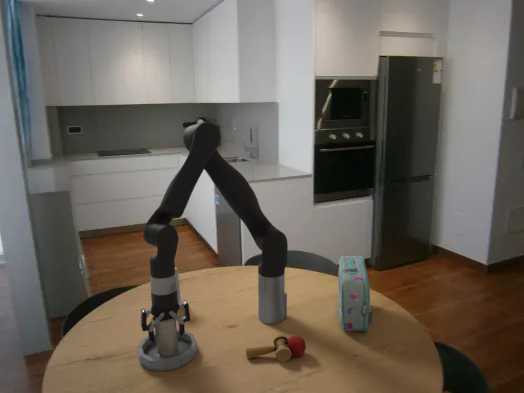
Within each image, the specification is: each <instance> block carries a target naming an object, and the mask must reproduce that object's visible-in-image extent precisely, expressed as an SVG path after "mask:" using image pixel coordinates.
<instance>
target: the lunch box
mask: <svg viewBox="0 0 524 393" xmlns="http://www.w3.org/2000/svg"><path fill="white" fill-rule="evenodd" d="M365 263H366V262H365V258H364V255H363V256H362V255H357V256H356V255H351V256H350V255H341V256H340V258H339V260H338V274H337V277H338V278H337V285H338V286H337V288H338V295H337V305H336V306H337V314H338V321H339V325H340V327H341V329H342V331H344V332H349V331H350V332H351V331H352V332H354V331H364V332H367V331H369V328H370V325H371V324H372V319H373V318H372V316H373V311H371V285H370V282H369V276H368V271H367V268H366V264H365Z"/></svg>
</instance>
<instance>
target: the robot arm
mask: <svg viewBox="0 0 524 393" xmlns="http://www.w3.org/2000/svg"><path fill="white" fill-rule="evenodd" d="M221 135H222V134H221V129H219V127H218V126H217V125H216V124H215V123H213V122H209V121H203V122H198V123H196V124H192V125H189V126H187V127H186V129H185V130H184V131H183V135H182V140H183V145H184V146H185V148H186V150H187V151H188V152H189V153H188V155H187V156H186V159H185V161H184V162H183V164H182V166H181V167H180V169H179V170H178V171H177V173H176V174H175V176H174V177H173V178H172V180H171V181H170V183H169V184H168V187H167V188H166V191H165V193H164V195H163V197H162V200H161V203H160V204H159V206H158V207H157V208H156V209H155V211H154V212H153V213H152V215H151V216H150V217H149V219H148V220H147V222H146V223H145V224H144V228H143V231H142V232H143V233H142V234H143V236H142V237H143V240H144V241H145V243H147V244H148V245H151V246H153V247H156V249H157V250H156V253H154V254H153V255H151V257H150V258H149V270H150V271H149V272H150V273H149V274H150V281H149V283H150V297H151V308H148V309H145V308H142V309H141V310H140V326H141V330H142V332H148V334H147V336H149V340H150V341H152V343H153V342H155V340H154V332H155V326H157V325H158V323H159V322H160V321H164V320H168V319H173V318H174V319H175V320H176V322H178V330H179V334H180V336H182V335H183V333H184V332H185V331H186V330H185V329H186V328H185V323H187V322H190V321H191V313H190V312H191V311H190V307H189V306H190V305H189V303H188V302H187V300H183V301H182V302H181V303H179V304H178V298H177V280H176V275H175V268H176V264H175V263H176V261H175V260H176V259H175V258H176V255H177V250H178V246H179V239H180V238H179V233H178V230H177V229H176V227H175V226H173V225H172V224H170V223H171V222H172V221H173V220H174V219H175V220H176V219H180V218H181V217H182V216H183V214H184V212H185V210H186V208H187V205H188V204H189V201H190V198H191V196H192V193H193V192H194V189H195V187H196V185H197V183H198V181H199V179H200V177H201V176H202V174H203V171H205V172H206V174H207V175H208V176H209V178H210V180H211V181H212V182H213V184H214V185H215V187H216V188H217V190H218V192H220V194H221V196H222V198H223V199H224V200H225V201H226V203H227V204H228V206H229V207H230V208H231V209H232V211H233V212H234V213H235V214H236V216H237V217H238V218H239V219H240V220H241V221H242V223H243V224H244V225H245V227H246V228H247V230H248V232H249V234H250V235H251V237H252V239H253V241H254V244H255V245H256V247H257V248H258V249H259V250H260V251H261V262H260V263H259V264H258V266H257V273H258V274H257V279H258V280H257V281H258V283H257V284H258V285H257V287H258V289H257V290H258V293H257V294H258V299H257V300H258V309H257V312H258V314H257V315H258V320H259V321H260V322H261V323H263V324H267V325H276V324H279V323H282V322H283V321H285V320H286V319H288V318H287V316H288V311H287V310H288V306H287V305H288V294H287V293H286V292H285V288H286V287H285V286H286V285H285V284H286V283H285V282H286V281H285V280H286V279H285V277H286V276H285V274H286V273H285V272H286V270H285V269H286V267H287V264H288V250H289V248H288V246H289V245H288V238H287V236H286V234H285V233H284V232H283V231H282V230H280V229H279V228H277V227H275V225H273V224H272V223H271V221H270V220H269V219H268V218H267V216H266V215H265V214H264V212H263V211H262V209H261V207H260V203H259V200H258V197H257V196H256V193H255V191H254V190H253V188H252V186H251V185H250V183H249V181H248V180H247V179H246V178H245V176H244V175H243V174H242V173H241V172H239V171H238V170H237V169H236V168H235V167H234V166H232V165H231V164H230V163H228V161H227V160H225V158H224V157H223V156H222V155H221V153H220V152H219V151H218V147H219V145H220V144H221V138H222V136H221ZM180 309H181V310H182V311H183V317H182V316H181V315H180V314H179V313H178V311H179V310H180ZM150 314H151V316H152V317H151V319H150V321H149V323H147V321H148V320H147V318H149V317H150Z"/></svg>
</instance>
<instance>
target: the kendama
mask: <svg viewBox="0 0 524 393" xmlns="http://www.w3.org/2000/svg"><path fill="white" fill-rule="evenodd" d="M306 346H307V344H306V342H305V340H304V338H303V337H302V336H300V335H291V336H290V337H289V338H288V337H287V336H286V335H284V334H278V335H276V336H275V337H274V338H273V345H269V346H268V345H266V346H258V347H257V346H256V347H246V349H245V353H246V359H247V360H250V359H252V358H256V357H260V356H264V355H269V354H271V353H274V352H275V353H274V355H275V356H274V357H275V359H276V360H277V361H279V362H287V361H289V360H290V359H291V358H292V357H300V356H302V355H303V354H305V351H306V348H307V347H306Z"/></svg>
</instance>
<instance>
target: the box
mask: <svg viewBox="0 0 524 393" xmlns="http://www.w3.org/2000/svg"><path fill="white" fill-rule="evenodd" d="M154 332H155V333H156V343H157V354H161V355H167V356H172V355H173V354H174V353H175V352H176V351H177V350H178V340H177V320H175V319H174V318H173V319H168V320H164V321H160V322H159V323H158V325H157V326H155V328H154Z"/></svg>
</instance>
